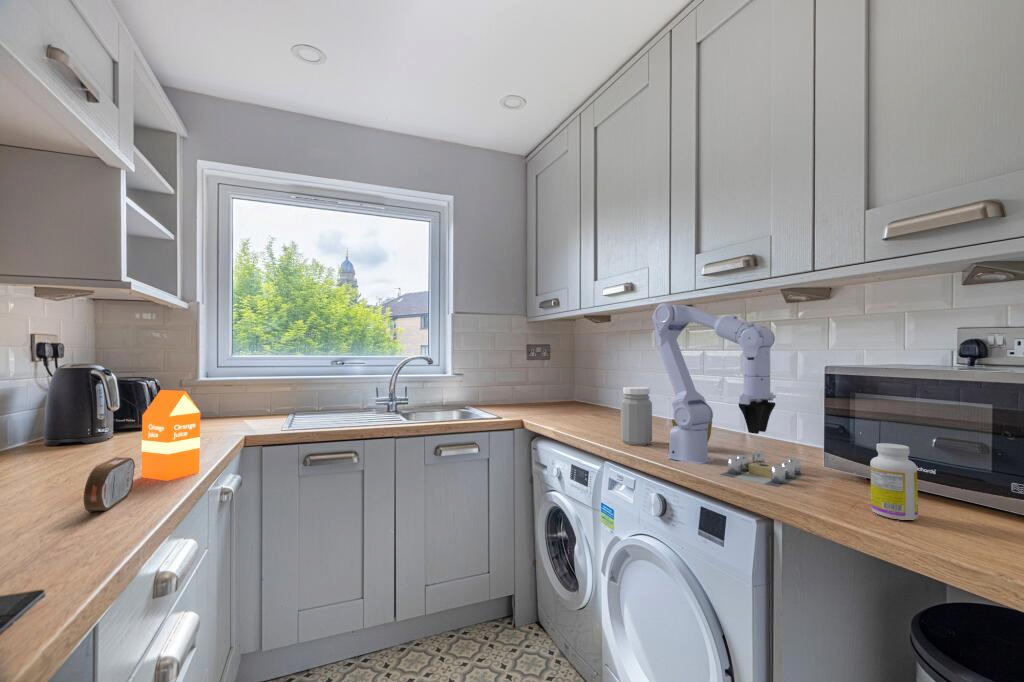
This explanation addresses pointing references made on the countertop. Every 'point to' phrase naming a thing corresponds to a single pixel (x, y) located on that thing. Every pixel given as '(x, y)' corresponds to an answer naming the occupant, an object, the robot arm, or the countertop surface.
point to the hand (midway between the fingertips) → (757, 432)
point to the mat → (758, 478)
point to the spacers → (777, 472)
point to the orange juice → (170, 437)
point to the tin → (108, 484)
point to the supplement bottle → (894, 482)
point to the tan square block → (760, 469)
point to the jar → (636, 416)
